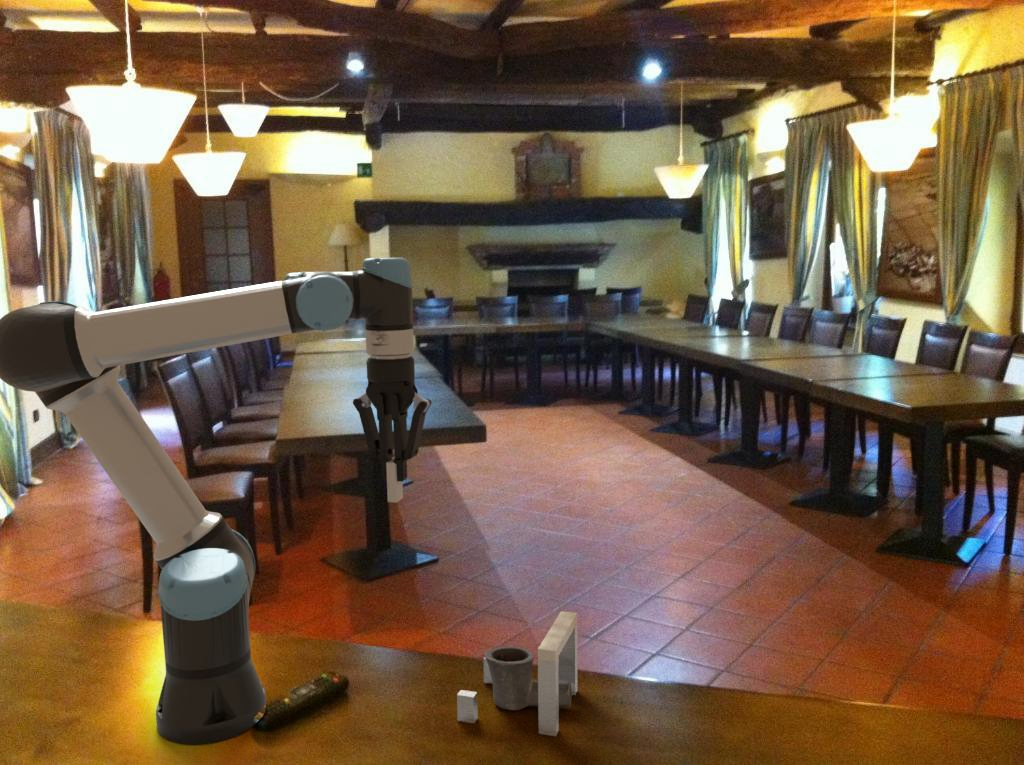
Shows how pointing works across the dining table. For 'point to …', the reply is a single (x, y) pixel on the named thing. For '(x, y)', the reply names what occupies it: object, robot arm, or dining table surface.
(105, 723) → the dining table surface
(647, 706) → the dining table surface
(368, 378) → the robot arm
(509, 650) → the pipe
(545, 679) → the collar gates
